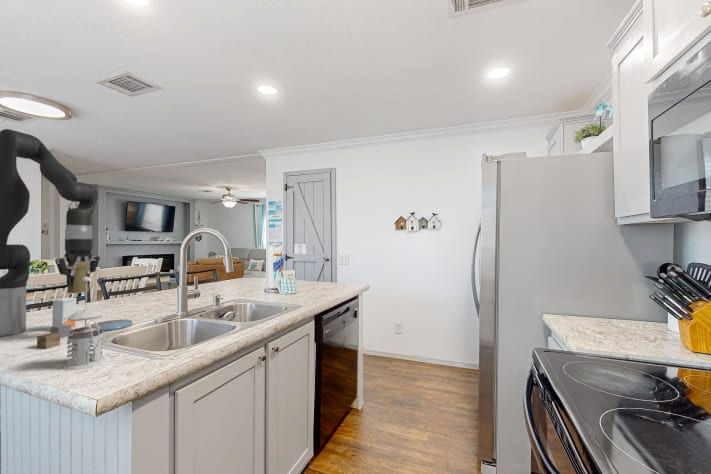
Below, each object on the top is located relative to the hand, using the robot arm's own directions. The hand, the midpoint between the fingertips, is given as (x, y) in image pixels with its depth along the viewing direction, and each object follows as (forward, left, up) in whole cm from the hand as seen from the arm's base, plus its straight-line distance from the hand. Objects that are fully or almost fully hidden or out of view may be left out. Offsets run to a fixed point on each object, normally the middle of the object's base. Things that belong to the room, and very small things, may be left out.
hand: (78, 285), depth 116 cm
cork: (0, 0, -2) cm, 2 cm away
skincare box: (-16, +7, -19) cm, 26 cm away
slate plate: (-3, +15, -19) cm, 24 cm away
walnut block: (0, -9, -19) cm, 21 cm away
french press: (+27, -17, -19) cm, 37 cm away
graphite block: (-8, 0, -19) cm, 21 cm away
